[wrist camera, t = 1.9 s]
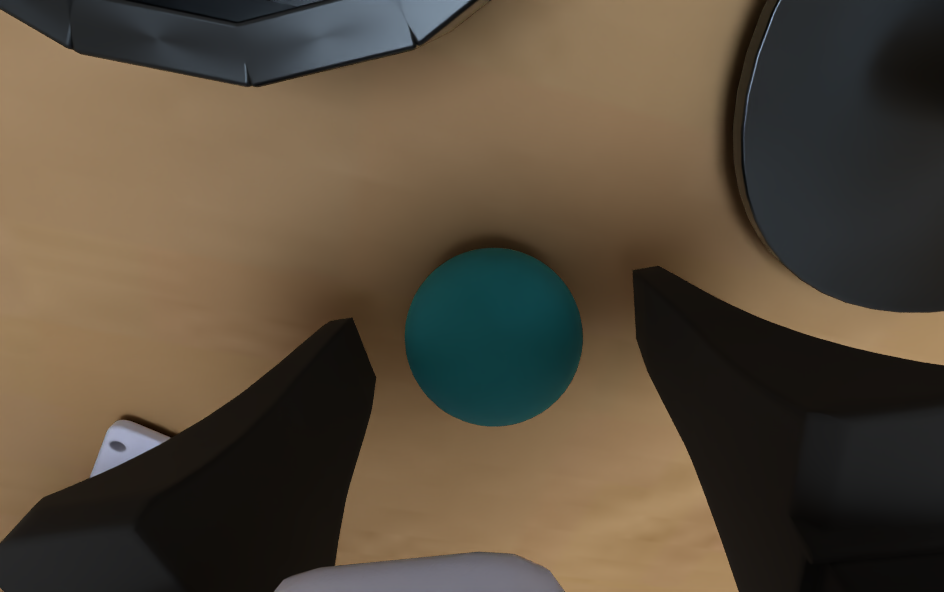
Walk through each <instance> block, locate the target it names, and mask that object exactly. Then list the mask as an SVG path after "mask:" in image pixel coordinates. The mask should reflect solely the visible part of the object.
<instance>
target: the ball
mask: <svg viewBox="0 0 944 592" xmlns="http://www.w3.org/2000/svg"><path fill="white" fill-rule="evenodd" d="M582 345H583V328H582V323H581V318H580V313H579V310H578V307H577V305H576V302H575V300H574V298H573V296H572V294H571V292H570V290H569V289H568V287H567V286H566V285H565V283H564V282H563V281H562V280H561V278H560V277H559V276H558V275H557V274H556V273H555V272H554V271H553V270H552V269H551V268H549V267H548V266H547V265H545V264H544V263H542V262H541V261H539V260H537V259H536V258H534V257H532V256H530V255H527V254H525V253H522V252H519V251H515V250H511V249H504V248H483V249H476V250H472V251H468V252H465V253H462V254H460V255H457V256H455V257H453V258H451V259H449V260H448V261H446V262H445V263H443V264H442V265H441V266H439V267H438V268H436V269H435V270H434V271H433V272H432V273H431V274H430V275H429V276H428V277H427V278H426V280H425V281H424V282H423V283H422V285H421V286H420V287H419V289H418V291H417V292H416V294H415V296H414V298H413V301H412V303H411V306H410V308H409V311H408V315H407V319H406V325H405V347H406V355H407V359H408V363H409V366H410V369H411V371H412V373H413V376H414V378H415V379H416V381H417V383H418V384H419V386H420V387H421V389H422V391H423V392H424V393H425V394H426V395H427V397H428V398H429V399H430V400H431V401H433V402H434V403H435V404H436V405H437V406H438V407H439V408H440V409H442V410H443V411H445V412H446V413H448V414H450V415H451V416H453V417H455V418H458V419H460V420H462V421H465V422H468V423H471V424H476V425H481V426H507V425H513V424H517V423H520V422H523V421H526V420H528V419H531V418H533V417H535V416H537V415H538V414H540V413H542V412H543V411H545V410H546V409H548V408H549V407H550V406H551V405H552V404H553V403H555V402H556V401H557V400H558V399H559V398H560V396H561V395H562V394H563V393H564V392H565V390H566V389H567V387H568V386H569V384H570V383H571V381H572V379H573V377H574V375H575V373H576V371H577V368H578V364H579V361H580V357H581V353H582Z"/></svg>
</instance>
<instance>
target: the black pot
mask: <svg viewBox="0 0 944 592" xmlns="http://www.w3.org/2000/svg"><path fill="white" fill-rule="evenodd" d="M489 1H491V0H0V9H1V10H3V11H4V12H6V13H8V14H9V15H11V16H13V17H15V18H16V19H18V20H20V21H21V22H23V23H25V24H27V25H28V26H30V27H32V28H33V29H35V30H37V31H39V32H40V33H42V34H44V35H45V36H47V37H49V38H51V39H52V40H54V41H56V42H57V43H59V44H61V45H63V46H64V47H66V48H68V49H72V50H74V51H76V52H77V53H80V54H83V55H88V56H93V57H98V58H103V59H108V60H113V61H118V62H123V63H128V64H133V65H138V66H143V67H148V68H153V69H158V70H163V71H168V72H174V73H179V74H184V75H189V76H194V77H199V78H204V79H209V80H214V81H219V82H224V83H229V84H234V85H239V86H244V87H250V86H254V87H261V86H265V85H269V84H273V83H277V82H282V81H286V80H290V79H294V78H298V77H303V76H307V75H311V74H315V73H319V72H323V71H328V70H332V69H336V68H340V67H344V66H349V65H353V64H357V63H361V62H365V61H370V60H374V59H378V58H382V57H386V56H390V55H395V54H399V53H403V52H407V51H411V50H415V49H417V48H419V47H421V46H423V45H425V44H427V43H429V42H431V41H433V40H435V39H437V38H439V37H441V36H443V35H445V34H447V33H448V32H450V31H452V30H454V29H455V28H456V27H457V26H459V25H460V24H461V23H462V22H464V21H465V20H466V19H467V18H469V17H470V16H471V15H472V14H474V13H475V12H476V11H477V10H479V9H480V8H481V7H483V6H484V5H485V4H486V3H488V2H489Z"/></svg>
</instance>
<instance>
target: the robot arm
mask: <svg viewBox="0 0 944 592" xmlns="http://www.w3.org/2000/svg"><path fill="white" fill-rule="evenodd" d="M633 288H634V306H635V324H636V339H637V342H638V345H639V348H640V351H641V354H642V357H643V360H644V363H645V366H646V368H647V371H648V373H649V375H650V377H651V380H652V381H653V383H654V385H655V387H656V389H657V391H658V393H659V395H660V397H661V399H662V401H663V403H664V405H665V407H666V409H667V411H668V413H669V415H670V417H671V419H672V421H673V423H674V425H675V427H676V429H677V431H678V433H679V435H680V436H681V438H682V440H683V442H684V444H685V447H686V449H687V451H688V453H689V455H690V458H691V460H692V462H693V465H694V467H695V470H696V473H697V475H698V478H699V481H700V483H701V486H702V489H703V491H704V494H705V496H706V499H707V502H708V505H709V507H710V510H711V513H712V516H713V518H714V521H715V524H716V527H717V530H718V532H719V535H720V538H721V541H722V544H723V546H724V549H725V552H726V555H727V558H728V561H729V564H730V567H731V570H732V573H733V576H734V579H735V582H736V584H737V587H738V590H739V592H944V365H937V364H930V363H923V362H918V361H912V360H907V359H902V358H898V357H893V356H888V355H883V354H878V353H873V352H869V351H865V350H860V349H856V348H852V347H848V346H844V345H841V344H837V343H834V342H830V341H826V340H823V339H819V338H816V337H812V336H809V335H806V334H803V333H800V332H797V331H794V330H791V329H788V328H786V327H783V326H780V325H777V324H775V323H772V322H769V321H767V320H764V319H762V318H759V317H757V316H754V315H752V314H750V313H748V312H746V311H743V310H741V309H739V308H737V307H735V306H732V305H730V304H728V303H726V302H724V301H722V300H720V299H718V298H716V297H714V296H712V295H710V294H709V293H707V292H705V291H703V290H701V289H699V288H698V287H696V286H694V285H692V284H690V283H689V282H687V281H685V280H683V279H682V278H680V277H678V276H676V275H675V274H673V273H671V272H669V271H667V270H666V269H664V268H662V267H660V266H655V267H649V268H643V269H637V270H633ZM375 383H376V376H375V373H374V371H373V368H372V366H371V363H370V361H369V358H368V356H367V353H366V351H365V348H364V346H363V343H362V340H361V338H360V335H359V333H358V330H357V328H356V325H355V323H354V320H353V318H352V317H351V318H345V319H340V320H334V321H330V322H328V323H327V324H325V325H324V326H323V327H321V328H320V329H319V330H318V331H316V332H315V333H314V334H313V335H311V336H310V337H309V338H308V339H307V340H306V341H304V342H303V343H302V344H301V345H300V346H299V347H297V348H296V349H295V350H294V351H293V352H292V353H290V354H289V355H288V356H287V357H286V358H285V359H283V360H282V361H281V362H280V363H279V364H278V365H276V366H275V367H274V368H273V369H271V370H270V371H269V372H268V373H266V374H265V375H264V376H263V377H261V378H260V379H259V380H258V381H256V382H255V383H254V384H253V385H251V386H250V387H249V388H248V389H246V390H245V391H244V392H242V393H241V394H240V395H238V396H237V397H235V398H234V399H233V400H231V401H230V402H228V403H227V404H225V405H224V406H222V407H221V408H219V409H218V410H216V411H215V412H213V413H212V414H210V415H209V416H207V417H206V418H204V419H203V420H201V421H199V422H198V423H196V424H194V425H192V426H191V427H189V428H187V429H186V430H184V431H182V432H180V433H179V434H177V435H175V436H174V437H172V438H171V437H168V436H166V435H164V434H161V433H159V432H156V431H154V430H151V429H149V428H147V427H144V426H142V425H139V424H137V423H134V422H132V421H129V420H118V421H115V422H114V424H113V425H112V426H111V427H110V428H109V429H108V430H107V433H106V435H105V438H104V441H103V443H102V446H101V449H100V451H99V454H98V457H97V459H96V462H95V465H94V467H93V470H92V473H91V476H90V478H89V479H86V480H84V481H82V482H79V483H77V484H75V485H72V486H70V487H68V488H65V489H63V490H61V491H58V492H56V493H53V494H51V495H48V496H46V497H44V498H42V499H41V500H40V501H39V502H38V503H37V504H36V505H35V506H34V507H33V508H32V509H31V510H30V511H29V512H28V513H27V515H26V516H25V517H24V518H23V519H22V520H21V521H20V522H19V523H18V524H17V525H16V526H15V528H14V529H13V530H12V531H11V532H10V533H9V534H8V535H7V536H6V537H5V538H4V540H3V541H2V542H1V543H0V588H1V589H2V590H3V591H4V592H565V591H564V590H563V588H562V587H561V586H560V584H559V583H558V581H557V580H556V579H555V577H554V576H553V575H552V573H551V572H550V571H549V570H548V569H546V568H545V567H543V566H541V565H539V564H536V563H534V562H532V561H529V560H527V559H525V558H522V557H520V556H518V555H516V554H507V553H490V552H471V553H461V554H451V555H441V556H431V557H420V558H410V559H400V560H390V561H380V562H370V563H360V564H350V565H340V566H335V560H336V553H337V547H338V540H339V534H340V529H341V523H342V518H343V513H344V507H345V502H346V498H347V494H348V490H349V486H350V482H351V479H352V475H353V472H354V469H355V466H356V462H357V459H358V456H359V452H360V449H361V446H362V442H363V439H364V436H365V432H366V429H367V425H368V422H369V418H370V415H371V411H372V405H373V399H374V391H375Z"/></svg>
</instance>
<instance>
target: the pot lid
mask: <svg viewBox="0 0 944 592" xmlns="http://www.w3.org/2000/svg"><path fill="white" fill-rule="evenodd" d="M733 158H734V166H735V172H736V178H737V184H738V190H739V193H740V196H741V199H742V202H743V205H744V208H745V211H746V214H747V216H748V218H749V220H750V222H751V224H752V225H753V227H754V229H755V231H756V233H757V235H758V237H759V238H760V240H761V241H762V242H763V243H764V245H765V246H766V247H767V248H768V250H769V251H770V252H771V253H772V255H773V256H774V257H775V258H776V259H777V260H778V261H780V262H781V263H782V264H783V265H784V266H785V267H786V268H787V269H789V270H790V271H791V272H792V273H793V274H794V275H796V276H797V277H798V278H799V279H800V280H802V281H803V282H805V283H807V284H808V285H810V286H812V287H813V288H815V289H816V290H818V291H820V292H821V293H824V294H826V295H828V296H831V297H833V298H836V299H838V300H841V301H843V302H846V303H850V304H854V305H858V306H861V307H865V308H869V309H875V310H884V311H892V312H921V313H930V312H940V311H944V0H767V1H766V3H765V6H764V8H763V10H762V12H761V14H760V17H759V20H758V23H757V25H756V28H755V31H754V34H753V36H752V39H751V42H750V45H749V48H748V50H747V53H746V57H745V61H744V65H743V69H742V74H741V78H740V82H739V86H738V90H737V97H736V106H735V114H734V123H733Z"/></svg>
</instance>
